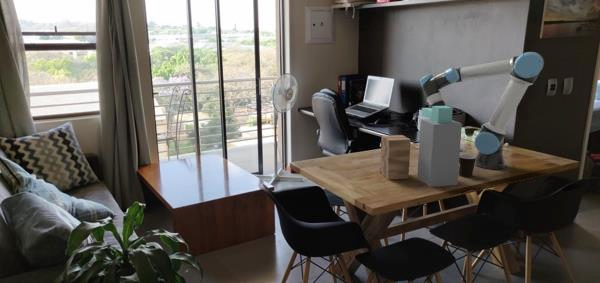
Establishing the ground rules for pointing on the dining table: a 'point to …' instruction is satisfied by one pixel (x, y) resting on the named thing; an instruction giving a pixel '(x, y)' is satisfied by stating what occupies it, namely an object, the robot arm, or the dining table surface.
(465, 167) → the coffee mug
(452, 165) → the stand
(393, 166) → the walnut block
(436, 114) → the teal bar
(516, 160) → the dining table surface
